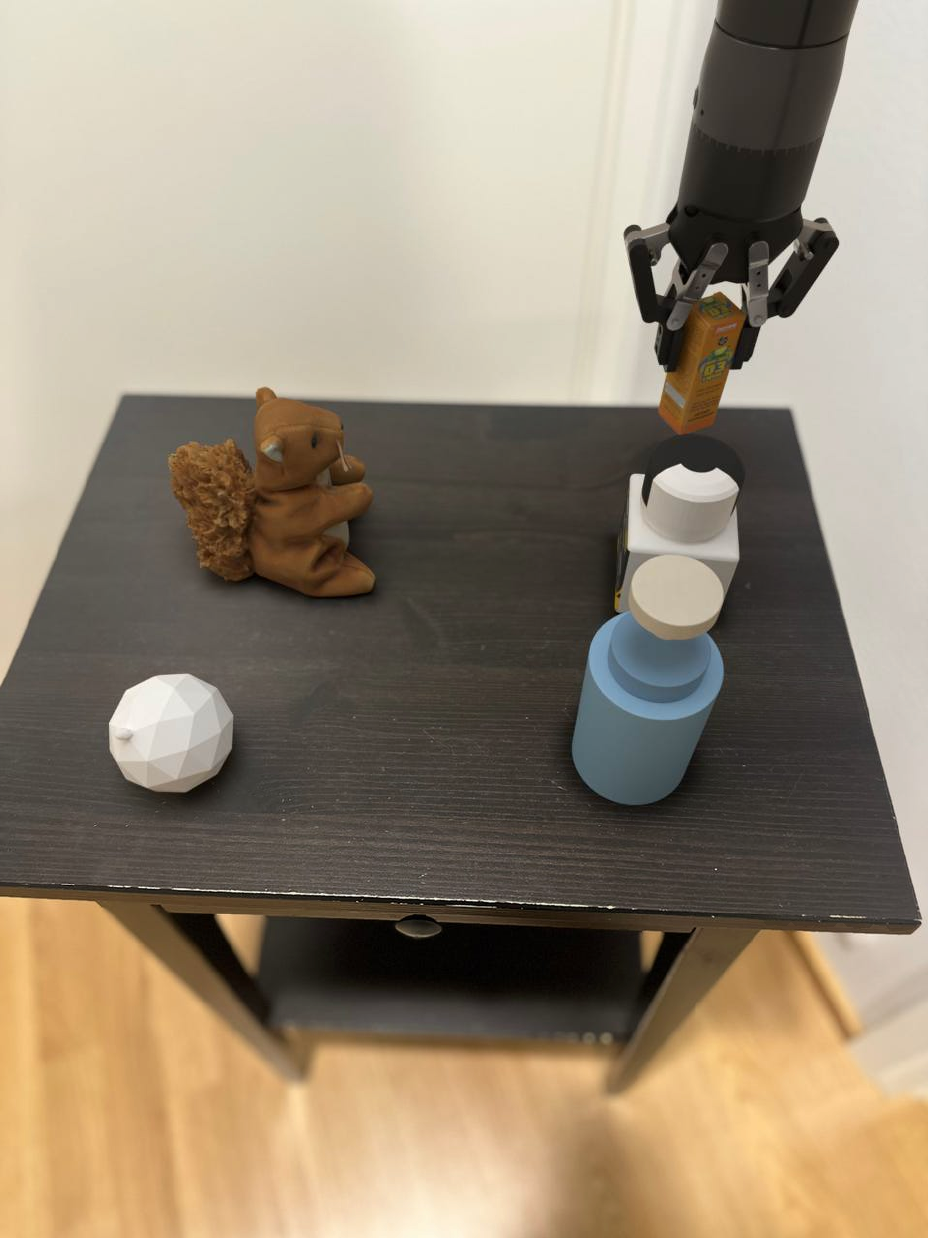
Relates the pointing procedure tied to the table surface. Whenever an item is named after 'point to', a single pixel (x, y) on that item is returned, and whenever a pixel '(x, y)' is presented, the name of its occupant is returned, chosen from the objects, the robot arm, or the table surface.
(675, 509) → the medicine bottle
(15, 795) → the table surface
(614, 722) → the pump bottle
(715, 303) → the supplement box
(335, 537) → the stuffed squirrel
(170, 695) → the ornament
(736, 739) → the table surface
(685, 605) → the disc
